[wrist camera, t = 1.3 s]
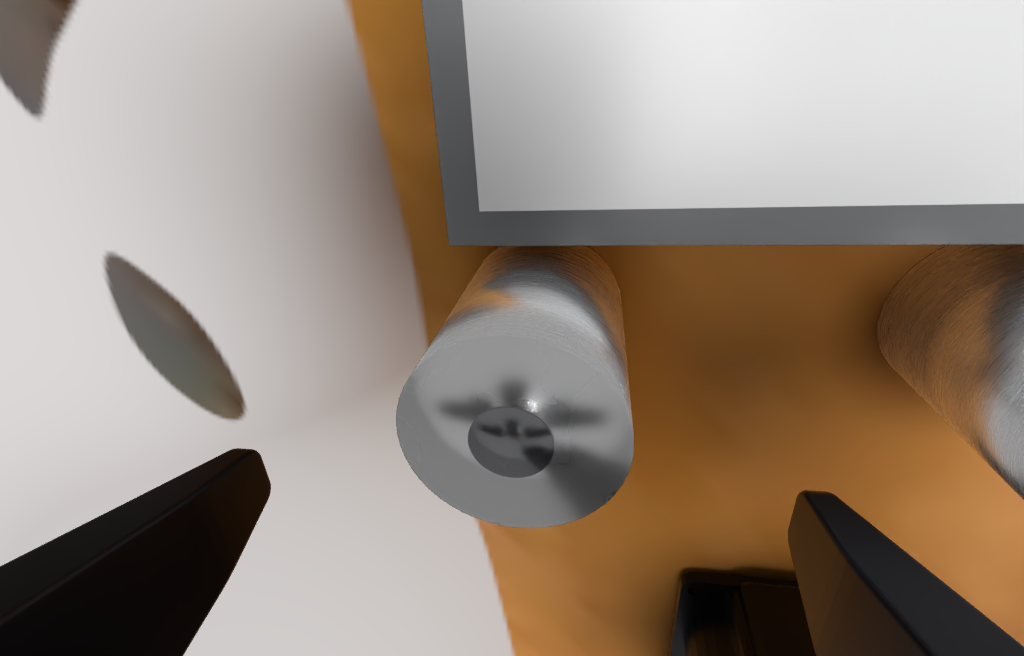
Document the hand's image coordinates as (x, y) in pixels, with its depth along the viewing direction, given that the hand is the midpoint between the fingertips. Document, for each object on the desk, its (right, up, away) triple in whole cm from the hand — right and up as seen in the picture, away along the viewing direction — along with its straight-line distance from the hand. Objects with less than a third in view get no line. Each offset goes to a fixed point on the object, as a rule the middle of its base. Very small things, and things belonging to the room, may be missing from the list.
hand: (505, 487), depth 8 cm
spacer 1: (+1, +3, +6) cm, 7 cm away
